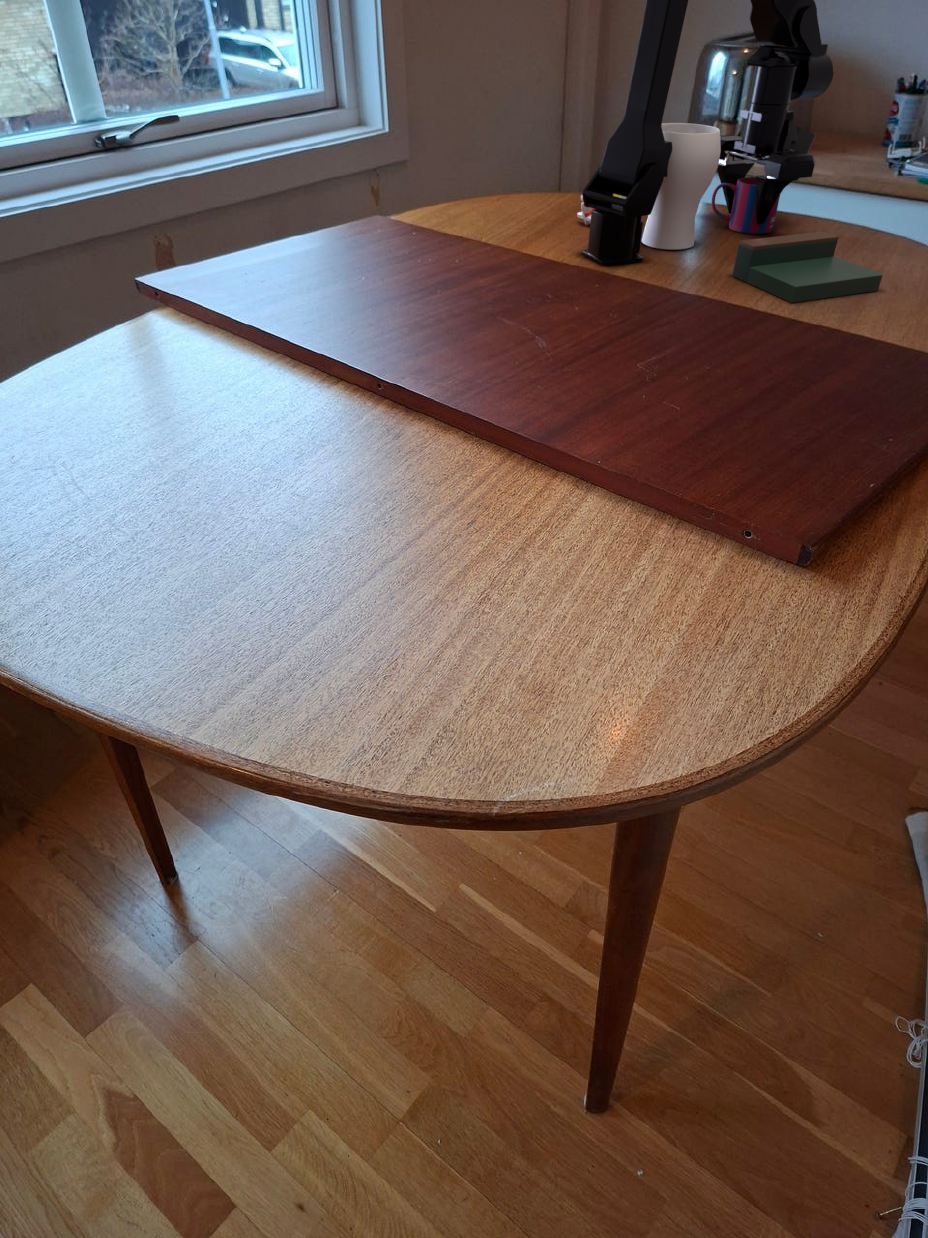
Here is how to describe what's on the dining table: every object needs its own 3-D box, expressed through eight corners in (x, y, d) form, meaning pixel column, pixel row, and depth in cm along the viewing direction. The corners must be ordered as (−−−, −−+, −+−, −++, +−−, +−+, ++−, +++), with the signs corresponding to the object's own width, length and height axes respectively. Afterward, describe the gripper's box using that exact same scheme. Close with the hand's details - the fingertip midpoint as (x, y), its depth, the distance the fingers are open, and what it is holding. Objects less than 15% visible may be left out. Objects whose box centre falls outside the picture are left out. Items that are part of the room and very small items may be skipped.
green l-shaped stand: (791, 303, 105) (800, 265, 102) (732, 275, 114) (739, 240, 111) (878, 290, 109) (889, 254, 107) (814, 265, 118) (823, 230, 115)
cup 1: (617, 241, 126) (630, 126, 117) (660, 230, 132) (676, 119, 123) (675, 257, 120) (694, 137, 111) (718, 244, 126) (739, 129, 117)
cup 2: (771, 235, 130) (781, 187, 126) (705, 229, 133) (713, 181, 128) (773, 225, 135) (783, 178, 131) (709, 220, 138) (717, 173, 133)
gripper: (858, 108, 118) (828, 227, 128) (772, 92, 132) (750, 201, 142) (794, 112, 115) (768, 234, 125) (712, 95, 129) (694, 207, 138)
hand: (745, 218), depth 132 cm, fingers closed on cup 2, 7 cm apart
